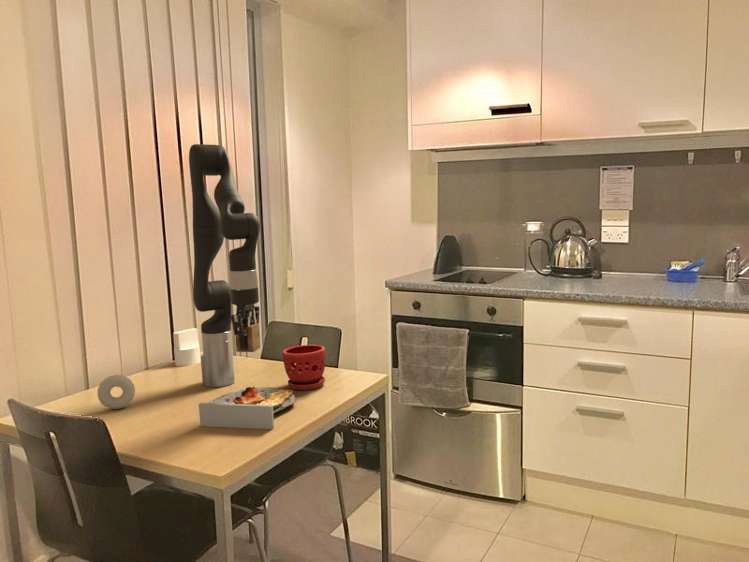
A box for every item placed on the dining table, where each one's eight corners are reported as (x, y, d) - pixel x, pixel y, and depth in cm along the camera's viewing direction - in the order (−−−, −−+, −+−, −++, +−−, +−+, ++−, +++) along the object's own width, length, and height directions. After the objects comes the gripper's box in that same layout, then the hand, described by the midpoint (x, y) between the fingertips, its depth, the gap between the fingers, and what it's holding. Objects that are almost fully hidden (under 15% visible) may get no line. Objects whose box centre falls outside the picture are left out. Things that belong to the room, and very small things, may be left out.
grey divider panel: (200, 426, 156) (198, 403, 155) (202, 424, 157) (200, 402, 156) (272, 429, 152) (271, 406, 151) (274, 427, 153) (272, 405, 152)
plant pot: (329, 379, 193) (328, 343, 192) (322, 392, 180) (320, 353, 179) (290, 379, 194) (288, 343, 193) (280, 392, 182) (277, 354, 180)
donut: (98, 413, 169) (95, 379, 167) (99, 409, 172) (96, 375, 171) (136, 408, 172) (133, 374, 171) (136, 404, 175) (133, 371, 174)
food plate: (251, 389, 185) (250, 378, 185) (312, 400, 174) (311, 388, 173) (189, 417, 164) (188, 405, 164) (253, 432, 152) (252, 419, 152)
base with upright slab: (190, 358, 227) (187, 327, 225) (205, 361, 222) (203, 329, 220) (170, 364, 219) (167, 332, 218) (185, 367, 214) (182, 334, 213)
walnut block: (236, 351, 165) (234, 326, 164) (243, 347, 170) (242, 323, 169) (253, 352, 164) (251, 327, 163) (260, 347, 169) (258, 323, 168)
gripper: (242, 282, 172) (246, 340, 174) (219, 290, 158) (224, 353, 160) (266, 282, 170) (270, 340, 173) (246, 290, 157) (250, 353, 159)
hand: (248, 346), depth 167 cm, fingers closed on walnut block, 5 cm apart
